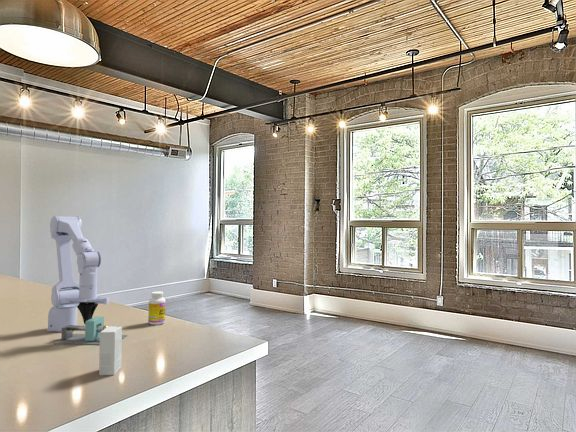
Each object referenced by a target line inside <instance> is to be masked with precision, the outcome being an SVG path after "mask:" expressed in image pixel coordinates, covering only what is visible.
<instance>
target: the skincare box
mask: <svg viewBox="0 0 576 432" xmlns="http://www.w3.org/2000/svg"><path fill="white" fill-rule="evenodd" d="M108 326H109V327H106V328H105V329H104V330H102V331H101V332H100V345H99V351H98V352H99V354H98V355H99V359H98V360H99V366H98V367H99V368H98V373H99V376H114V375H116V373H118V372H119V370H120V369H122V364H123V363H122V351H123V349H122V348H123V347H122V346H123V345H122V344H123V341H122V340H123V339H122V335H123V326H122V325H115V326H113V325H112V326H111V325H108ZM121 326H122V327H121Z"/></svg>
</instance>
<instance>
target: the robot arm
mask: <svg viewBox="0 0 576 432" xmlns="http://www.w3.org/2000/svg"><path fill="white" fill-rule="evenodd" d="M82 221H83V220H82V218H81V217H80V216H79V215H76V216H69V215H67V216H65V215H64V216H63V215H62V216H61V215H59V216H58V215H53V216H52V217H51V219H50V224H49V228H50V237H51V239H54V240H55V245H56V256H57V268H58V269H57V270H58V279H59V281H58V282H56V284H54V285H53V287H52V288H51V295H50V301H51V305H52V306H51V307H50V309H49V311H48V314H47V329H46V332H61V333H62V328H63V327H65V326H67V325H78V310H79V312H80V315H81V317H82V321H83V324H84V325H85V324H86V321H87V320H89V319H92V318H93V316H94V313H95V311H96V309H97V307H98V305H100V304H103V305H108V304H110V297H103V296H98V271H99V270H98V269H99V267H100V266H101V263H102V257H101V253H100V251H98V250H96V249H94V248H93V246H92V245H91V243H90V241H89V239H87V238H85V237H84V235H83V231H82V227H83V222H82ZM71 241H72V248H71ZM72 249H73V252H74V253H75V255H76V257H77V258H76V264H77V272H78V273H79V282H78V281H76V280H74V279H75V278H74V269H73V268H74V267H73V259H72ZM79 325H80V326H83V325H82V324H79Z"/></svg>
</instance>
